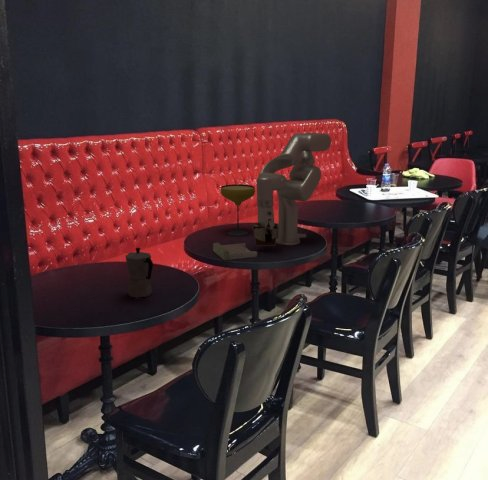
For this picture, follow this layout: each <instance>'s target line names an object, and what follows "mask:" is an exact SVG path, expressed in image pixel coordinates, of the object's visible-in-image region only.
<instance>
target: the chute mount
mask: <svg viewBox="0 0 488 480" xmlns="http://www.w3.org/2000/svg"><path fill="white" fill-rule="evenodd" d="M212 244H213V245H212V246H213V249H212V250H213V253H215V254H216V255H217V256H218V257H219V258H220V259H222V260H223V261H229V260H241V259H250V258H257V257H258V251H257V250H254V251H253V250H252V251H251V250H249V248H247V247H246V246H247V245H246V243H245V242H243V243H234V244H231V243H230V244H220V242H214V243H212Z"/></svg>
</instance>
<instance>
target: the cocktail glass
mask: <svg viewBox="0 0 488 480" xmlns="http://www.w3.org/2000/svg"><path fill="white" fill-rule="evenodd" d="M220 194H221V196H222V197H224V199H227V200H229V202H230V201H231V203H234V205H235V206H236V207H237V209H236V211H237V217H236V218H237V221H236V224H237V225H236V230H235V229H234V230H230V231H228V232H227V234H228V235H230V236H236V237H239V236H240V237H241V236H246V235H248V234H249V232H248V231H246V230H241V229H240V223H239V210H240V209H239V206H241V205H242V203H244V202H245V201H247V200H249V199H251V198H253V197H254V196H255V194H256V188H255V185H254V186H253V185H251V184H240V183H239V184H236V183H235V184H234V183H233V184H225V185H222V186H221V187H220Z"/></svg>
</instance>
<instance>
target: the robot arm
mask: <svg viewBox="0 0 488 480" xmlns="http://www.w3.org/2000/svg"><path fill="white" fill-rule="evenodd" d="M331 145H332V138H331V136H330V135H329V134H328V133H322V132H319V133H318V132H297V133H294V134H292V136H291V137H290V139H289V140H288V142H287V143H286V145H285V146H284V148H283V150H282V152H281V153H280V154H279V155H276V157H273V158H272V159H270V160H269V161H268V162H267V163H265V164H264V166H263V167H262V168H261V170H260V172H259V174H258V177H257V178H256V207H257V223H259V225H261V226H263V227H264V228H265V231H266V234H265V242H272V230H273V227H274V226H275V224H274V223H275V212H274V191H276V193H277V199H278V200H277V201H278V224H277V226H278V228H277V237H276V245H281V246H296V245H299V244H300V243H301V238H302V239H305V238H307V234H306V233H298V218H299V215H298V213H299V208H298V203H297V202H296V201H299V202H306V201H309V199H311V198H312V195H313V194H314V192H315V190H316V188H317V187H318V185H319V184H320V182H321V179H322V170H321V169H320V167H318V166H317V165H315V162H316V161H315V156H314V154H313V152H314V153H315V152H317V153H318V152H326V151H327V150H329V149H330V147H331ZM290 167H291V169H290V171H289V174H288V178H289V179H287V177H286V176H285V175H284V174H281V173H276V172H278V171H280V170H284V169H287V168H288V169H289V168H290ZM267 226H269V227H267ZM267 229H268V231H267Z"/></svg>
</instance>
